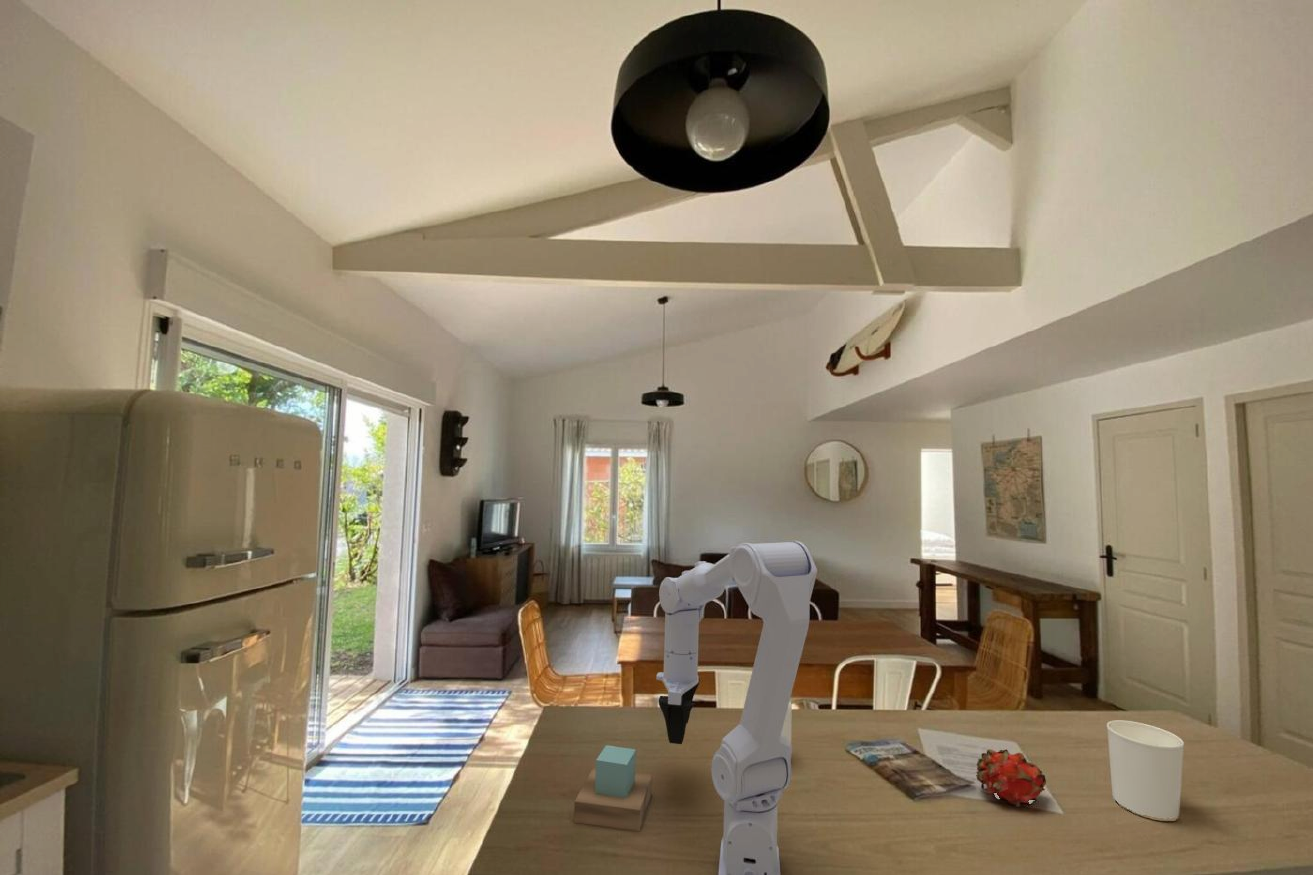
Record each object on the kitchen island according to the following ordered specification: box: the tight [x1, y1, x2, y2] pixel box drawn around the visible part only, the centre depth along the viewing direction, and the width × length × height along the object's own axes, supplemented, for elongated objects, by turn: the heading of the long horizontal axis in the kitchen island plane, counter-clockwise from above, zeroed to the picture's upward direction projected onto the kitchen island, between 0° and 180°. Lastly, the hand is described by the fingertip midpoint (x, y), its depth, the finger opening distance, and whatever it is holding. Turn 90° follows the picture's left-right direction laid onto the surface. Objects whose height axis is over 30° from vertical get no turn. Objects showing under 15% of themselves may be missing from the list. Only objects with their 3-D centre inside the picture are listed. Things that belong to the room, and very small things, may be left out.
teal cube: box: [595, 744, 637, 798], centre depth 92 cm, size 5×5×5 cm
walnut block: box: [573, 767, 653, 832], centre depth 91 cm, size 10×10×4 cm
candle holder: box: [1106, 719, 1185, 819], centre depth 96 cm, size 10×10×12 cm
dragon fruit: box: [975, 748, 1047, 808], centre depth 97 cm, size 8×8×12 cm
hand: (679, 732), depth 97 cm, fingers open, 7 cm apart
